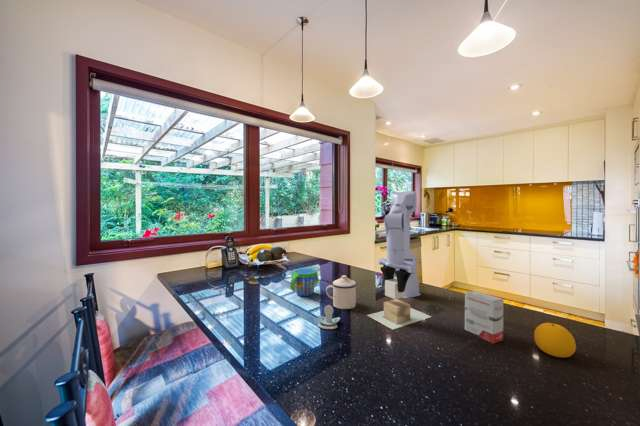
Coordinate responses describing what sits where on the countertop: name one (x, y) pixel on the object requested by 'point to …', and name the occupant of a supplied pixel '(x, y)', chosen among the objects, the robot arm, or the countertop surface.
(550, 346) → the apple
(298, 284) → the snack cup
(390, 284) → the cream block
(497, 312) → the ink box
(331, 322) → the pacifier
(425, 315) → the plate
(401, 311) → the oak block
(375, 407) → the countertop surface
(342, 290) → the teacup with lid
